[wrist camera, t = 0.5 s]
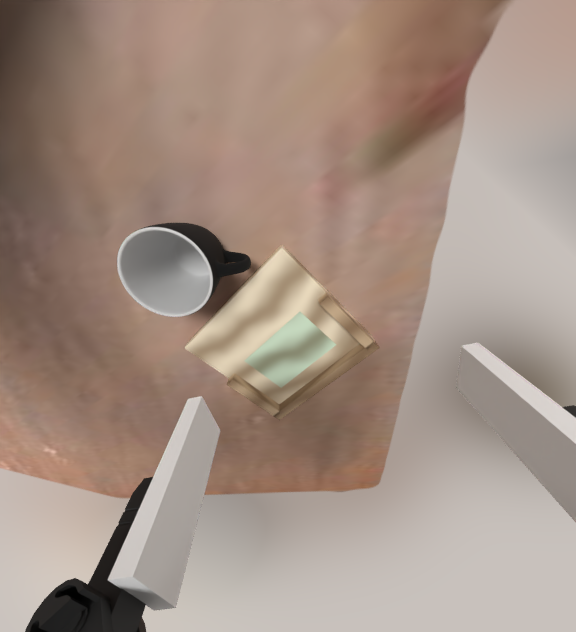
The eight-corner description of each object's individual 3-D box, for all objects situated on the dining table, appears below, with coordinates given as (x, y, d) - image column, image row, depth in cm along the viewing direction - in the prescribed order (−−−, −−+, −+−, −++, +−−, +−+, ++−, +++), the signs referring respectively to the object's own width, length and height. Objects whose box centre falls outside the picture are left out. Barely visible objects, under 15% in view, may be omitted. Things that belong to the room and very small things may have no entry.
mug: (171, 284, 34) (131, 318, 25) (156, 216, 30) (101, 226, 21) (257, 284, 34) (248, 317, 25) (253, 216, 30) (240, 226, 21)
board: (188, 340, 38) (180, 354, 35) (281, 244, 32) (281, 249, 29) (279, 404, 45) (279, 420, 42) (371, 335, 38) (379, 347, 35)
